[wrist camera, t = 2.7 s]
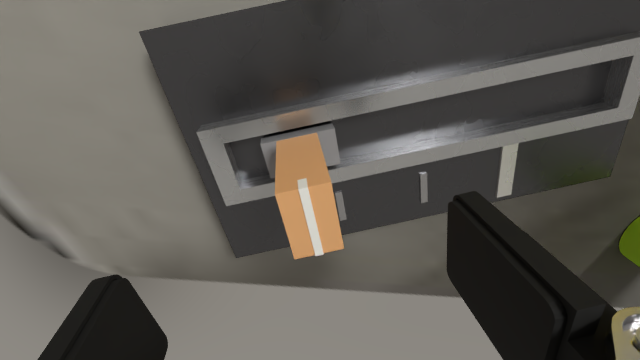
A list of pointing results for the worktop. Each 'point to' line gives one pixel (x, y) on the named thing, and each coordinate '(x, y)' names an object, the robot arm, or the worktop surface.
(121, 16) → the worktop surface
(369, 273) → the worktop surface
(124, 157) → the worktop surface
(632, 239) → the soap dispenser
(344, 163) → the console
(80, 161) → the worktop surface
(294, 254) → the fader knob
